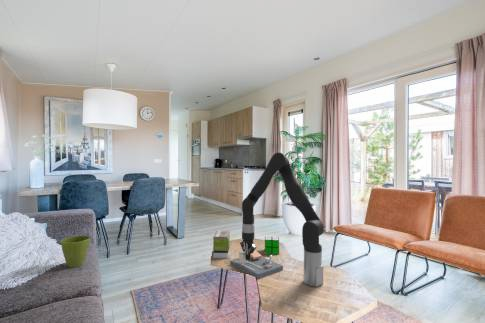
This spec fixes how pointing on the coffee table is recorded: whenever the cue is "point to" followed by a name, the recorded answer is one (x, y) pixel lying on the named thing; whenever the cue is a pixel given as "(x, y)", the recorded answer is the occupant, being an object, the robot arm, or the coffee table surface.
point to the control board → (257, 267)
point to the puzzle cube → (271, 245)
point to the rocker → (255, 255)
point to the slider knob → (242, 257)
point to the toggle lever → (269, 259)
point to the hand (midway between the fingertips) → (247, 259)
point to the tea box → (221, 244)
